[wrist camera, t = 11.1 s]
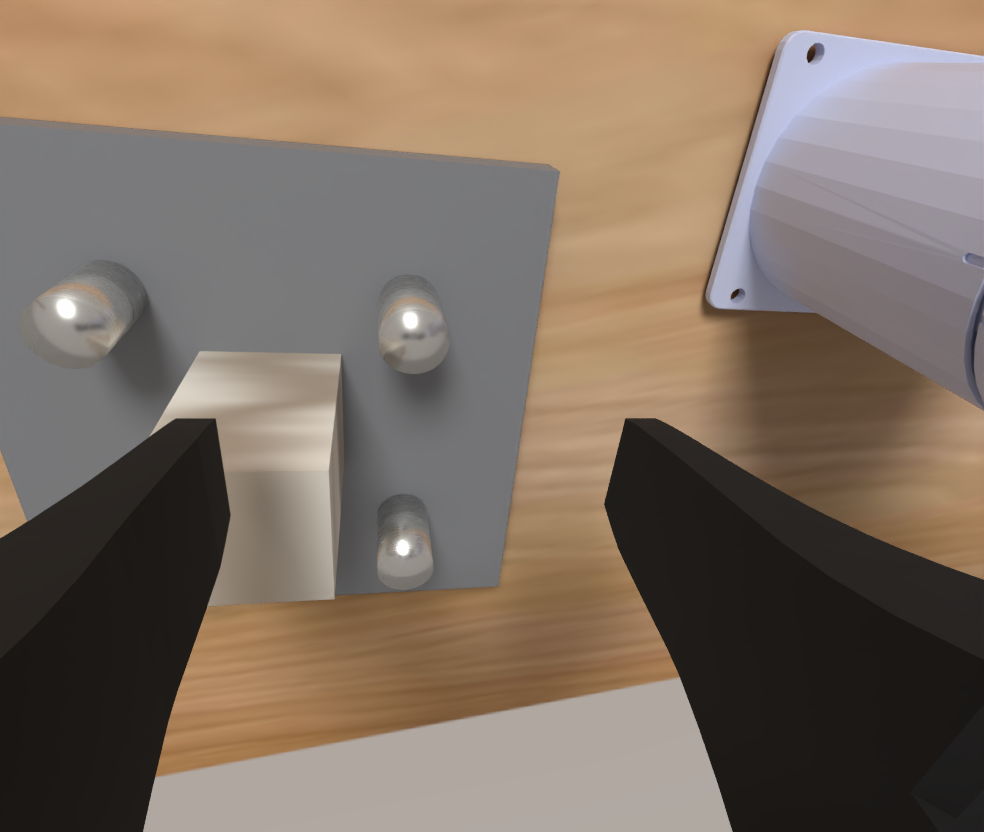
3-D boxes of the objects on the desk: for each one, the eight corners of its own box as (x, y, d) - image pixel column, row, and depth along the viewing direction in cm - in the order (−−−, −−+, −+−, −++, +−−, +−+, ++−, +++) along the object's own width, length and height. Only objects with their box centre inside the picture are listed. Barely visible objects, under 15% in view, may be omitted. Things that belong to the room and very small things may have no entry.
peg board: (548, 164, 17) (590, 191, 14) (493, 565, 25) (511, 643, 22) (-92, 108, 14) (-236, 126, 11) (75, 585, 22) (22, 679, 19)
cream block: (341, 353, 18) (328, 470, 13) (344, 462, 20) (334, 599, 15) (199, 351, 17) (128, 473, 12) (217, 463, 19) (161, 608, 14)
